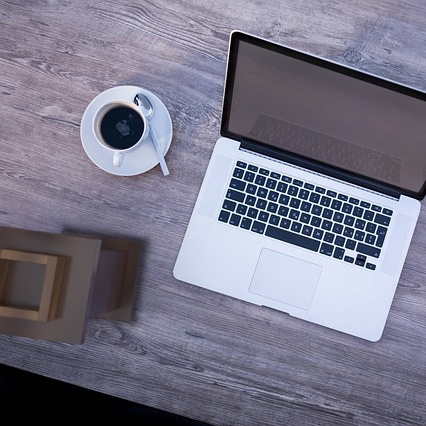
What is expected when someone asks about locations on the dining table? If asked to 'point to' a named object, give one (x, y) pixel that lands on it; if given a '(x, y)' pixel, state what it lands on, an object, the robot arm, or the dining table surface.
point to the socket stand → (46, 284)
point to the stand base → (115, 277)
